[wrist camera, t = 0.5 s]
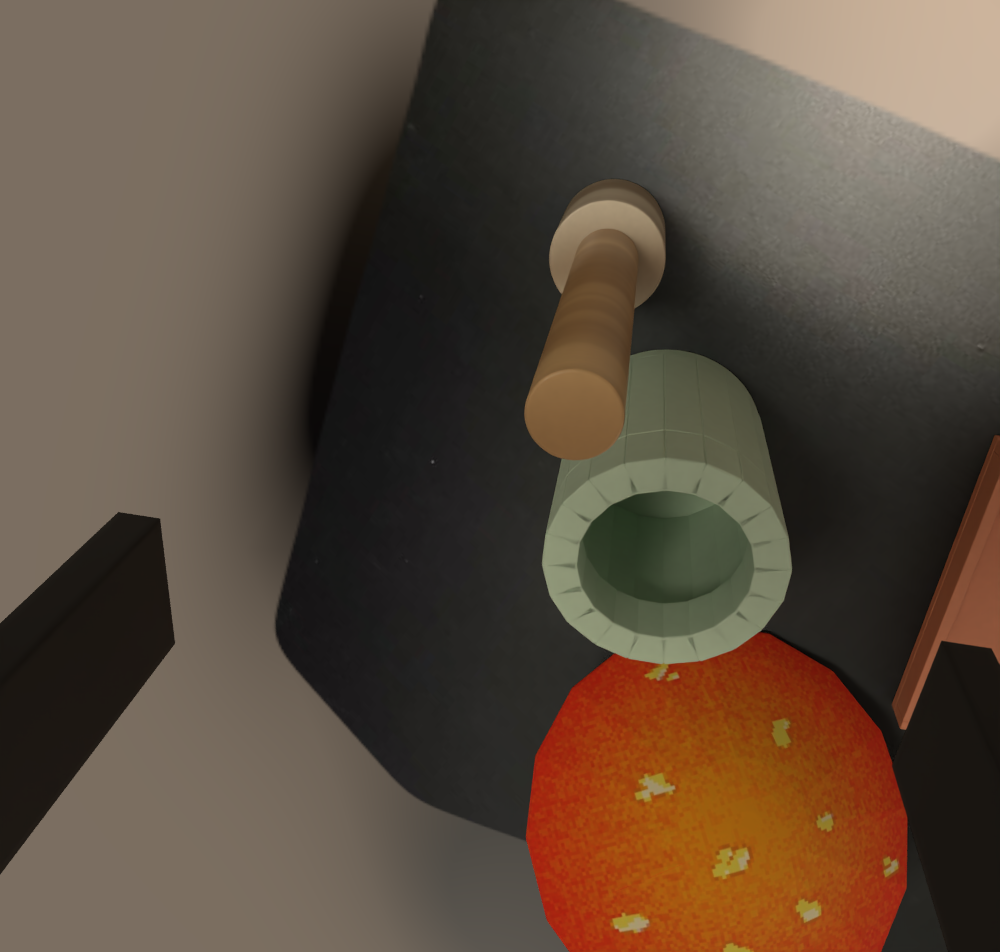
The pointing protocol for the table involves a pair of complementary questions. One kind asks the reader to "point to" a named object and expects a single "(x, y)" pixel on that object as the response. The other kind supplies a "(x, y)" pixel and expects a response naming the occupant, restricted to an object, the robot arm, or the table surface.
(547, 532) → the jar
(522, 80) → the table surface
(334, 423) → the table surface
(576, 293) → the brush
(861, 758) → the decorative mushroom
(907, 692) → the tray
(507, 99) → the table surface
